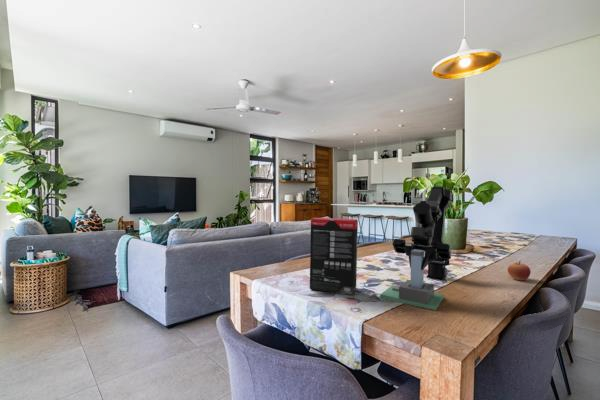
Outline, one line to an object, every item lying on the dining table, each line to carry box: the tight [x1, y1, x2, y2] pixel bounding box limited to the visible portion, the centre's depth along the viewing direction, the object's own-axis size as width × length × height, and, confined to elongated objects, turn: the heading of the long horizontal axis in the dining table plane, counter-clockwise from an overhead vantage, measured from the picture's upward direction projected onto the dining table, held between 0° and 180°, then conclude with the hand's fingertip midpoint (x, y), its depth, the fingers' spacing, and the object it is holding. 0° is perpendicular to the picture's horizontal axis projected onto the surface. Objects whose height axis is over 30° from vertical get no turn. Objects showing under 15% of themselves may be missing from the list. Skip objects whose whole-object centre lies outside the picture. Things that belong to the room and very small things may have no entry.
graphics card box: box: [309, 217, 359, 296], centre depth 108 cm, size 17×7×27 cm, turn 71°
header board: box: [379, 279, 445, 311], centre depth 101 cm, size 18×13×5 cm
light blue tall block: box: [410, 249, 425, 289], centre depth 98 cm, size 3×4×12 cm
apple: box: [507, 260, 532, 281], centre depth 124 cm, size 8×8×8 cm
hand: (416, 268), depth 97 cm, fingers closed on light blue tall block, 3 cm apart
